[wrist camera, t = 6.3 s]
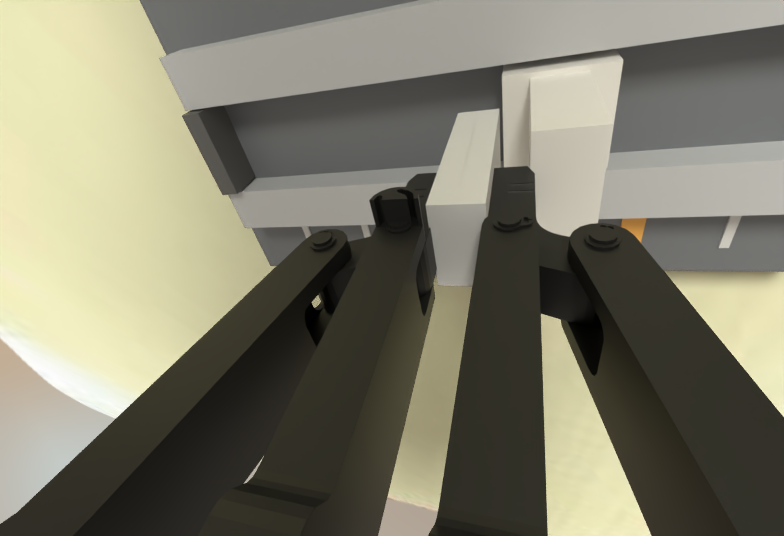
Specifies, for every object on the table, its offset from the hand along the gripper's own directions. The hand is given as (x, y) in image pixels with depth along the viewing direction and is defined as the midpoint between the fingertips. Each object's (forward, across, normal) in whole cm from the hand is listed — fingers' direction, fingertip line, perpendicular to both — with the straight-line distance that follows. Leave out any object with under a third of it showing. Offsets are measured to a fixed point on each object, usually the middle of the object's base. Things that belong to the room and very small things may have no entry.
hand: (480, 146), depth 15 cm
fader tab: (+3, +3, 0) cm, 4 cm away
